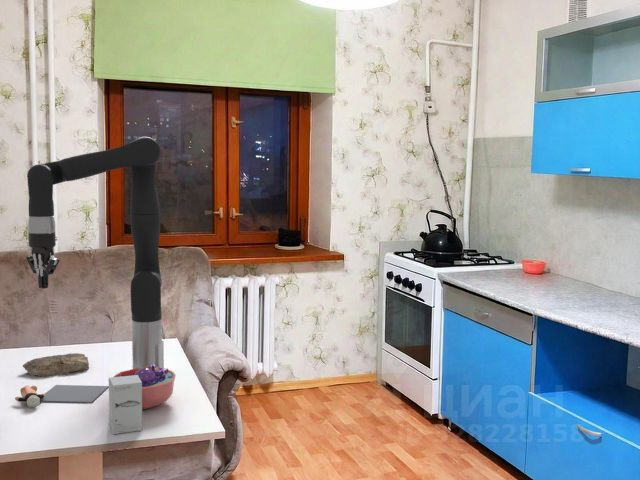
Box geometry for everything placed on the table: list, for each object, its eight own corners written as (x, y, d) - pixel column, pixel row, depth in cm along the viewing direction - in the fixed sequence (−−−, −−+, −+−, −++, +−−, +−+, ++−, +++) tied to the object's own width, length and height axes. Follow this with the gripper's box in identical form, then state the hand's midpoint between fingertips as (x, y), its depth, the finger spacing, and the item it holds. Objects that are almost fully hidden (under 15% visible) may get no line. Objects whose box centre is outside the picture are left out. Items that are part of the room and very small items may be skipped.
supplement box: (112, 435, 165) (111, 385, 164) (108, 425, 172) (108, 376, 170) (143, 431, 168) (142, 382, 167) (138, 421, 175) (137, 373, 173)
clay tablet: (26, 381, 207) (93, 370, 218) (26, 365, 207) (92, 356, 217) (19, 370, 219) (83, 361, 230) (19, 356, 219) (82, 347, 229)
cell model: (177, 392, 198) (177, 354, 197) (174, 416, 178) (174, 374, 177) (117, 394, 195) (117, 356, 194) (108, 419, 175) (107, 377, 174)
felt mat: (108, 387, 201) (108, 386, 201) (92, 403, 187) (91, 401, 187) (56, 386, 202) (56, 384, 202) (35, 401, 188) (35, 400, 188)
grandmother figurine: (39, 380, 194) (47, 390, 184) (42, 393, 195) (50, 404, 184) (10, 388, 190) (17, 399, 180) (13, 401, 191) (20, 413, 180)
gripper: (17, 230, 202) (18, 287, 204) (45, 233, 195) (46, 292, 197) (38, 229, 208) (40, 284, 210) (66, 231, 202) (68, 288, 203)
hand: (43, 288), depth 203 cm, fingers closed
